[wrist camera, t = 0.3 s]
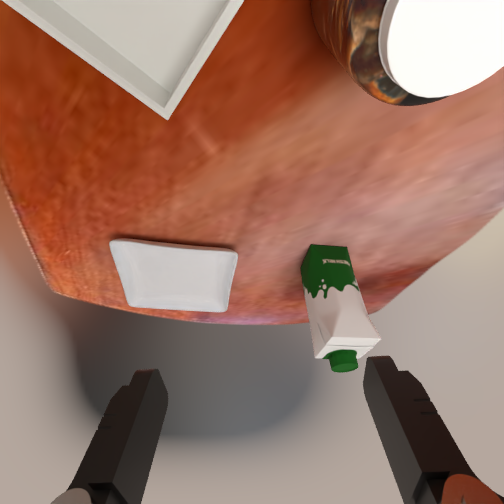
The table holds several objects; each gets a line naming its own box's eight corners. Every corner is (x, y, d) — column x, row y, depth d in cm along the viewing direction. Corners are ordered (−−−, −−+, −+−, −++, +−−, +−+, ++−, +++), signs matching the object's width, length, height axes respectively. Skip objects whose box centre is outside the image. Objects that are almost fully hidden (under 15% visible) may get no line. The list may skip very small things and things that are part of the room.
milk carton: (294, 270, 56) (312, 372, 43) (307, 239, 50) (333, 350, 36) (335, 272, 57) (364, 373, 44) (354, 243, 51) (394, 351, 38)
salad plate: (132, 295, 62) (128, 309, 60) (112, 226, 46) (106, 241, 44) (227, 300, 65) (226, 314, 63) (239, 238, 49) (239, 253, 47)
